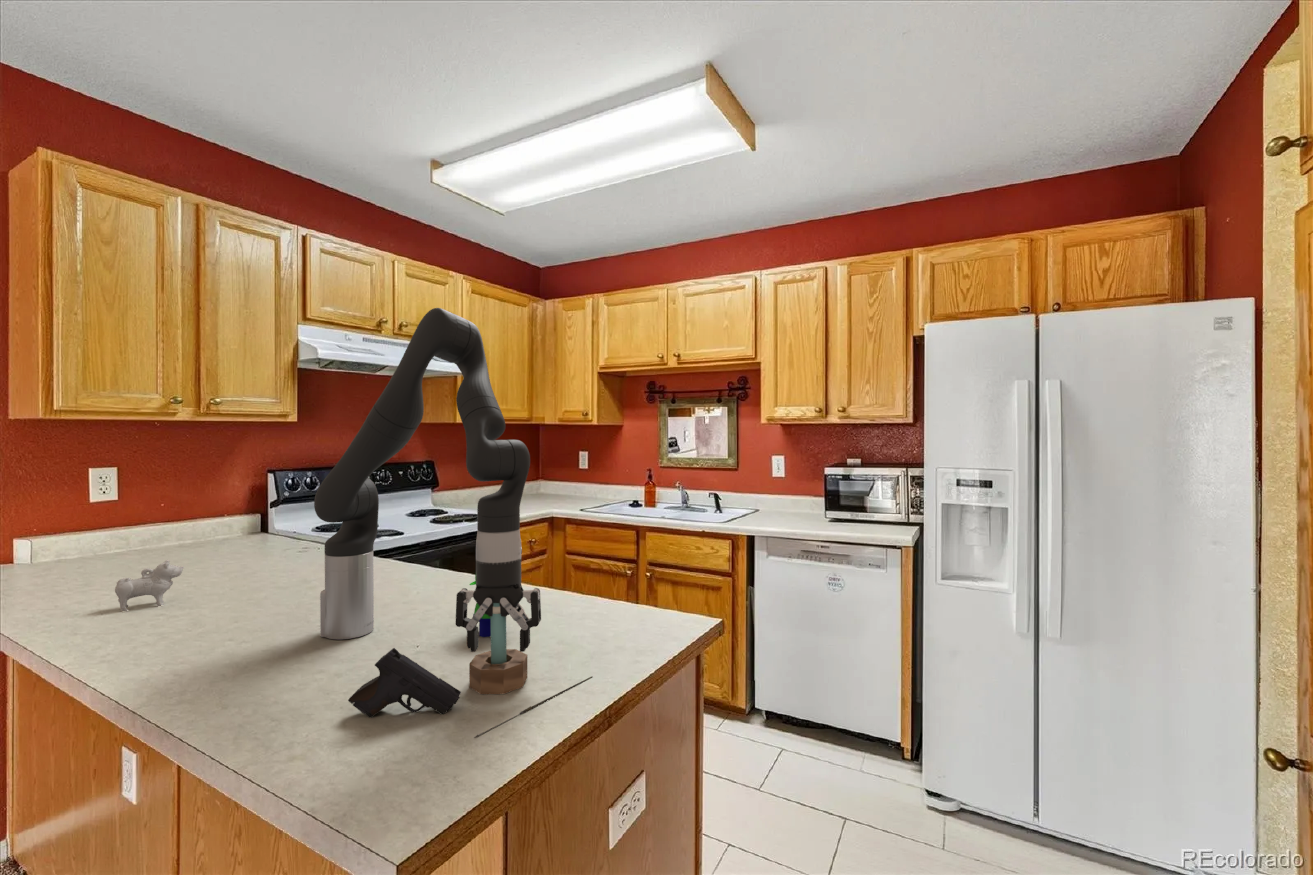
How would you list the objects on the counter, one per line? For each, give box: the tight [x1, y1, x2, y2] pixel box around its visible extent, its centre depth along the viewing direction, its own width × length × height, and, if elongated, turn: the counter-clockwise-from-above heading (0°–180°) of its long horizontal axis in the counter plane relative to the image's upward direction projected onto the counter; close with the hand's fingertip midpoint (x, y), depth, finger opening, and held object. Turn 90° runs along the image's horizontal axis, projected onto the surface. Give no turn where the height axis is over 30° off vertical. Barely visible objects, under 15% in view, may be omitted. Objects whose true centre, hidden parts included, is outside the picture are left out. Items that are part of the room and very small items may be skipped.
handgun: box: [347, 647, 462, 718], centre depth 89 cm, size 3×14×10 cm
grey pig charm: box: [114, 559, 185, 613], centre depth 142 cm, size 5×13×11 cm, turn 131°
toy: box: [469, 574, 491, 638], centre depth 124 cm, size 9×9×15 cm
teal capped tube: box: [490, 603, 507, 664], centre depth 99 cm, size 3×3×14 cm
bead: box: [468, 648, 528, 695], centre depth 99 cm, size 9×9×4 cm
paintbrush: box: [473, 676, 593, 738], centre depth 91 cm, size 1×25×1 cm, turn 144°
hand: (498, 650), depth 99 cm, fingers open, 8 cm apart
